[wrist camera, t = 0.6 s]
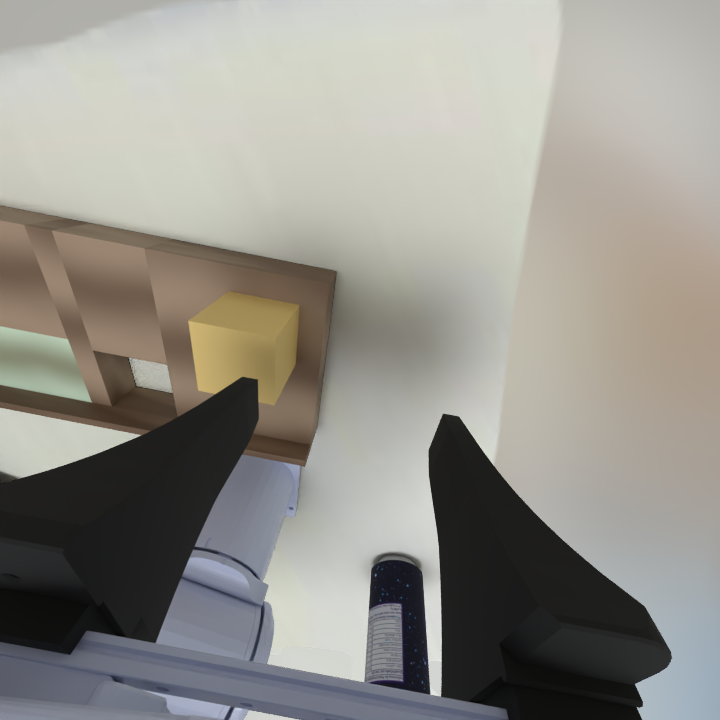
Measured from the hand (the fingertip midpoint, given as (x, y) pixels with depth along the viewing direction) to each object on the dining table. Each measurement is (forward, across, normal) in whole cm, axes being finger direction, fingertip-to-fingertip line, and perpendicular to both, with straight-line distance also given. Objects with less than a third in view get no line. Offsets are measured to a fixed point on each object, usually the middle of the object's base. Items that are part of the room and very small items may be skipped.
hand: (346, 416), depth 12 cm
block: (+7, +6, +1) cm, 9 cm away
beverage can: (+10, -8, +29) cm, 32 cm away
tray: (+9, +16, +4) cm, 19 cm away
